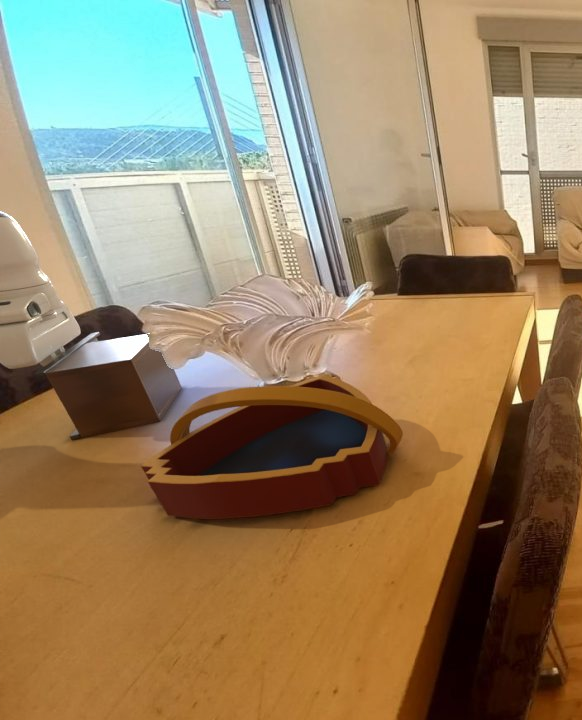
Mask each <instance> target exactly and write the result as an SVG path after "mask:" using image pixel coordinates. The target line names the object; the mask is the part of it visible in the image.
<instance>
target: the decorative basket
mask: <svg viewBox="0 0 582 720" xmlns="http://www.w3.org/2000/svg"><path fill="white" fill-rule="evenodd" d="M231 408H234V409H233V410H230V411H229V412H228V411H227V412H226V413H224V414H223V415H221V416H218V417H216V418H215V419H212V420H211V421H209V422H207V423H205V424H203V425H202V426H200V427H198V428H196V429H194V430H193V431H191V430H190V428H191V424H192V422H193V421H194V420H195V419H197V418H199V417H201V416H203V415H205V414H209V413H212V412H216V411H221V410H225V409H231ZM403 436H404V434H403V429H402V427H401V426H400V425H399V423H398V422H397V421H396V420H395V419H394V418H393V417H392V416H391V415H389V414H388V413H387V412H385V410H383V409H381V408H380V407H378V406H376V405H375V404H373V403H372V401H371V400H370V399H369V398H368V396H367V395H365V393H363V392H362V391H361V390H359V389H358V388H357V387H356V386H353V385H351V384H350V383H348V382H345V381H343V380H341V379H338V378H336V377H333V376H329V375H326V374H321V375H318V376H314V377H311V378H308V379H305V380H303V381H299V382H296V383H293V384H290V385H267V386H265V385H263V386H248V387H247V386H246V387H239V388H233V389H228V390H223V391H219V392H217V393H214V394H210V395H208V396H205V397H203V398H200V399H199V400H197V401H195V402H193V404H191V405H190V406H189V407H188V408H187V409H186V410H185V411H184V412H183V414H182V415H181V416H180V417H179V419H178V420H177V421H176V422H175V423H174V425H173V426H172V428H171V431H170V435H169V441H170V445H168V446H167V447H165V448H164V449H162V450H161V451H159V452H158V453H156V454H155V455H153V456H152V457H150V458H149V459H148V460H146V461H145V462H144V463H142V464H141V465H140V467H141V469H142V471H143V472H144V475H145V476H146V478H147V479H148V480H147V484H148V485H149V487H150V488H151V490H152V491H153V493H154V495H155V497H156V498H157V500H158V501H159V503H160V505H161V506H162V508H163V510H164V511H165V513H166V515H167V516H169V517H178V518H187V519H188V518H189V519H203V520H205V519H206V520H216V519H217V520H219V519H231V518H248V517H249V518H250V517H260V516H267V515H269V516H270V515H277V514H282V513H290V512H295V511H302V510H309V509H315V508H320V507H325V506H331V505H333V503H334V502H335V500H336V498H339V497H344V496H345V497H346V496H352V495H356V493H357V491H359V489H360V488H366V487H372V486H377V485H380V484H381V481H382V479H383V476H384V474H385V470H386V467H387V462H388V456H389V455H391V454H393V453H394V452H395V451H396V450H397V448H398V446H399V444H400V443H401V441H402V438H403ZM385 437H387V438H388V441H389V444H387V442H386V439H385Z"/></svg>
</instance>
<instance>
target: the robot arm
mask: <svg viewBox="0 0 582 720" xmlns="http://www.w3.org/2000/svg"><path fill="white" fill-rule="evenodd" d="M81 331H82V330H81V327H80V325H79V323H78V321H77V320H76V318H75V316H74V314H73V313H72V312H71V310H70V308H69V307H68V306H67V304H66V303H65V302H64V301H62V300H61V298H60V296H59V294H58V292H57V290H56V288H55V287H54V284H53V283H52V281H51V279H50V277H48V275H46V273H45V272H44V271H43V269H42V268H41V265H40V258H39V255H38V253H37V251H36V250H35V247H34V246H33V244H32V242H31V241H30V239H29V237H28V235H26V232H25V231H24V230H23V228H22V227H21V226H20V224H19V223H18V221H16V219H14V218H13V217H12V216H11V215H10V214H8V213H5V212H4V211H1V210H0V364H1V365H2V366H4V367H5V368H7V369H10V370H15V369H21V368H26V367H32V366H36V365H38V364H39V365H40V366H42V368H43V367H45V366H46V365H47V364H49V363H50V362H52V361H53V360H54V359H56V358H57V357H59V356H60V355H62V354H63V353H64V352H66V349H65V348H64V346H66V345H67V344H69V343H70V342H71V341H73V340H74V339H76V338H77V337H79V336H80V335H81Z"/></svg>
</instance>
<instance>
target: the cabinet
mask: <svg viewBox="0 0 582 720" xmlns="http://www.w3.org/2000/svg"><path fill="white" fill-rule="evenodd" d="M147 334H148V333H145V334H139V335H138V334H137V335H132V336H126V337H117V338H112V339H105V340H98V341H97V342H91V341H92V340H94V339H95V338H98V337H100V336H101V332H99V331H96V332H90V334H88V335H87V336H86V337H84V338H82V339H81V340H80V341H78V342H77V343H75V344H74V345H73V346H71V347H70V348H68V349H67V350H65V352H64V353H63V354H62V355H60V356H59V357H57V358H56V359H54V360H53V361H52V362H50V363H49V364H47V365H46V366H45V367H43V366H42V368H40V369H38V370H37V371H36V372H35V373H33V375H34V377H35V378H38V377H43V376H46V375H47V376H46V377H47V379H48V381H49V383H50V382H51V383H50V385H51V384H52V385H51V387H52V388H53V390H54V392H55V391H56V392H55V394H56V393H57V394H56V396H57V397H58V399H59V401H60V400H61V401H60V403H61V404H62V406H63V408H64V409H65V412H66V413H67V415H68V416H69V418H70V420H71V423H72V424H73V426H74V427H75V430H74V431H72V433H71V434H70V435H69V439H70V440H71V441H74V440H78V439H84V438H88V437H92V436H98V435H102V434H106V433H112V432H116V431H121V430H125V429H130V428H135V427H140V426H145V425H150V424H155V423H158V422H161V420H162V419H163V418H164V416H165V415H166V413H167V411H168V410H169V408H170V407H171V406H172V403H173V402H174V401H175V399H176V397H178V395H179V393H180V391H181V390H182V388H183V386H182V385H181V382H180V380H179V378H178V375H177V373H176V371H175V368H174V369H171V368H169V367H168V366H167V364H166V362H165V360H164V358H163V356H162V353H161V352H159V351H155V350H152V349H150V347H149V337H148V335H147ZM90 342H91V343H90Z"/></svg>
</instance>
